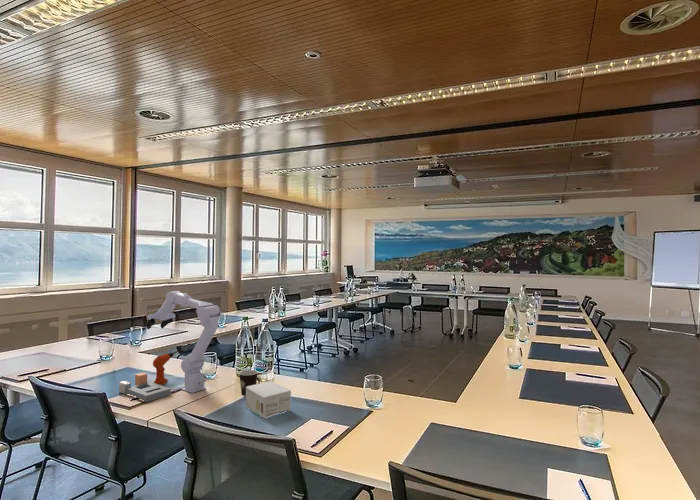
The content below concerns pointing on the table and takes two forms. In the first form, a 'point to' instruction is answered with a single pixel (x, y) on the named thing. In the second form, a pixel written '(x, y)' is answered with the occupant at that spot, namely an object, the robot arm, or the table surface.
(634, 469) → the table surface
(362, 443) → the table surface
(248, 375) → the coffee mug
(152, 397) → the socket board
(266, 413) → the supplement box
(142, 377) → the square peg
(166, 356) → the toy drill
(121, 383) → the light gray block
